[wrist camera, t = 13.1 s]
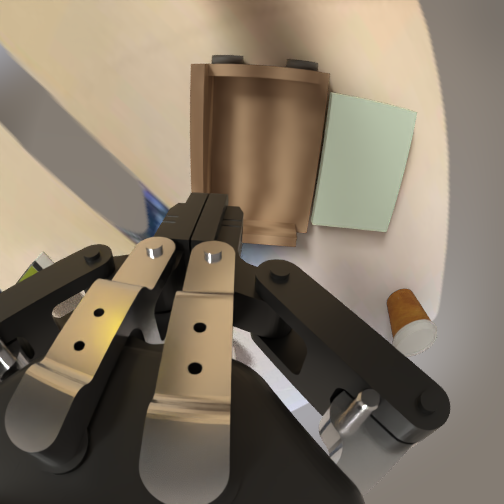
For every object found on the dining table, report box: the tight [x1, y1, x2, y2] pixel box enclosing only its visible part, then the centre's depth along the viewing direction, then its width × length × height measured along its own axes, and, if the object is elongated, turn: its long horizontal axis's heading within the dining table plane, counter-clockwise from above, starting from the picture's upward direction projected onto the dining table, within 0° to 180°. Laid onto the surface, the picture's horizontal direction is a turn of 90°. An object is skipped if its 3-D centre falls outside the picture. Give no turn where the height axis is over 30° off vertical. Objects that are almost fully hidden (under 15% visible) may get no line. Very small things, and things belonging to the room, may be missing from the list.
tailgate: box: [311, 92, 417, 232], centre depth 38 cm, size 2×19×12 cm
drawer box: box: [190, 55, 330, 247], centre depth 37 cm, size 16×26×9 cm, turn 177°
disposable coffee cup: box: [387, 289, 437, 357], centre depth 52 cm, size 10×10×12 cm
